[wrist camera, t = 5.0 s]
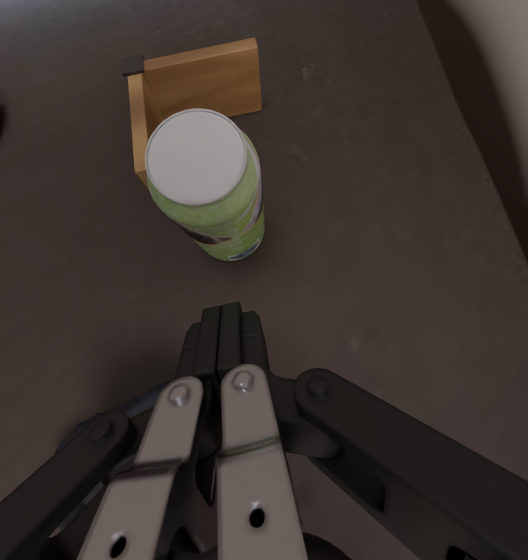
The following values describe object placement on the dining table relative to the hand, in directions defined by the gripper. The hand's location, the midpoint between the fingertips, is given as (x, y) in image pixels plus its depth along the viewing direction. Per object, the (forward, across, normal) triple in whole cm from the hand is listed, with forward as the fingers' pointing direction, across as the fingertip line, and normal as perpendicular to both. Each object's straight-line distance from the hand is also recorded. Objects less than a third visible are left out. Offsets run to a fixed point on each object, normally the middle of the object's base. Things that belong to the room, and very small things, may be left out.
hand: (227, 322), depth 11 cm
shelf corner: (+21, 0, -6) cm, 22 cm away
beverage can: (+14, 0, +1) cm, 14 cm away
